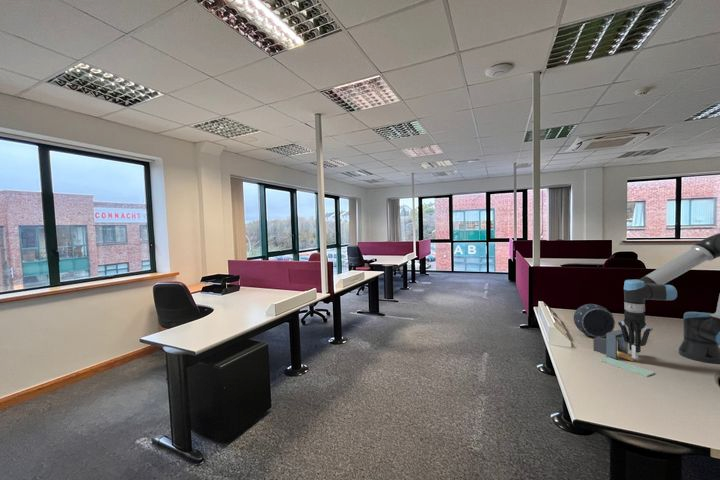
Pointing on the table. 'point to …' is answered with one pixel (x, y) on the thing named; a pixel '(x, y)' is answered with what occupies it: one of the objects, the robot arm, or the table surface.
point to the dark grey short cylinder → (594, 320)
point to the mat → (628, 367)
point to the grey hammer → (601, 347)
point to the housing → (615, 344)
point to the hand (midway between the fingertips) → (635, 357)
